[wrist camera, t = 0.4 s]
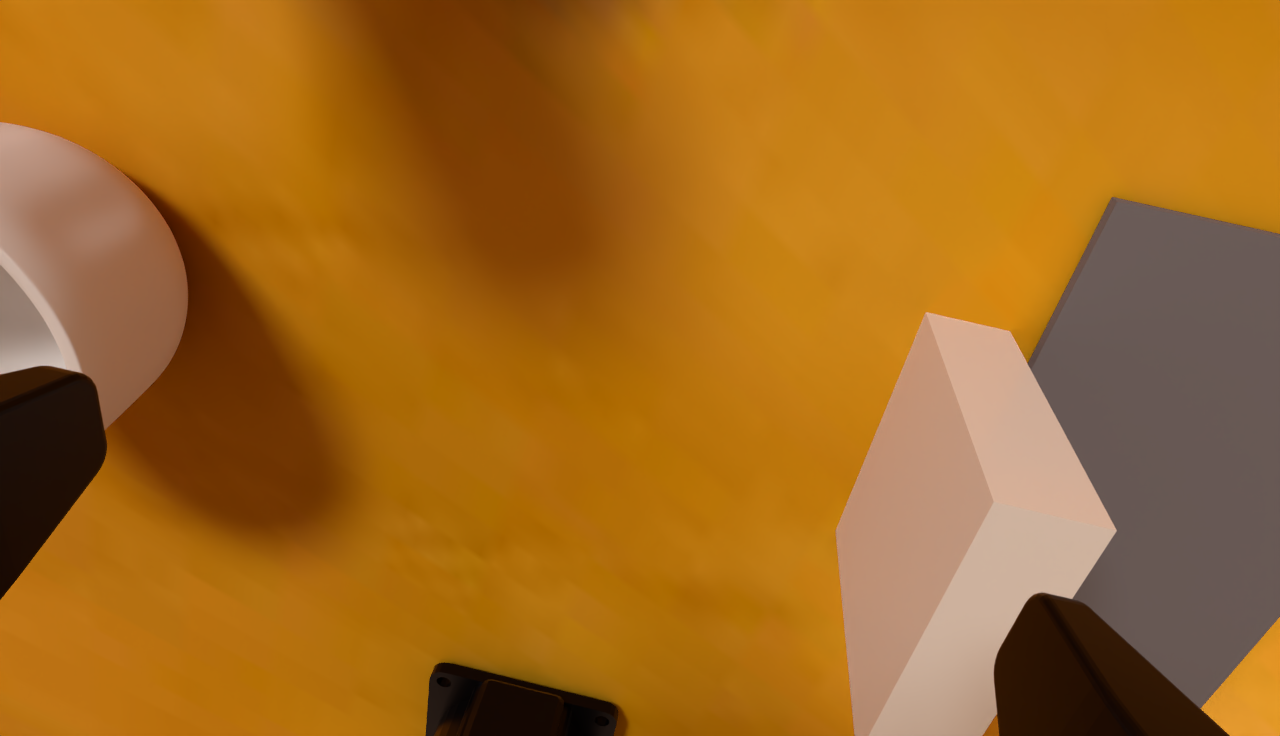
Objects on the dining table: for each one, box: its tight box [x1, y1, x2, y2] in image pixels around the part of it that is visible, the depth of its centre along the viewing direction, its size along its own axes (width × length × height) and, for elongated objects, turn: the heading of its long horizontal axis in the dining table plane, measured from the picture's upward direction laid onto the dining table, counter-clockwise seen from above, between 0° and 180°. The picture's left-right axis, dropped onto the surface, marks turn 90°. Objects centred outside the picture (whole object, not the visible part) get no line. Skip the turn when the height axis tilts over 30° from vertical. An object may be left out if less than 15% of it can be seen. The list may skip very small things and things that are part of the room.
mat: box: [1028, 197, 1280, 708], centre depth 20 cm, size 14×9×1 cm, turn 170°
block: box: [836, 312, 1117, 736], centre depth 18 cm, size 7×2×7 cm, turn 170°
